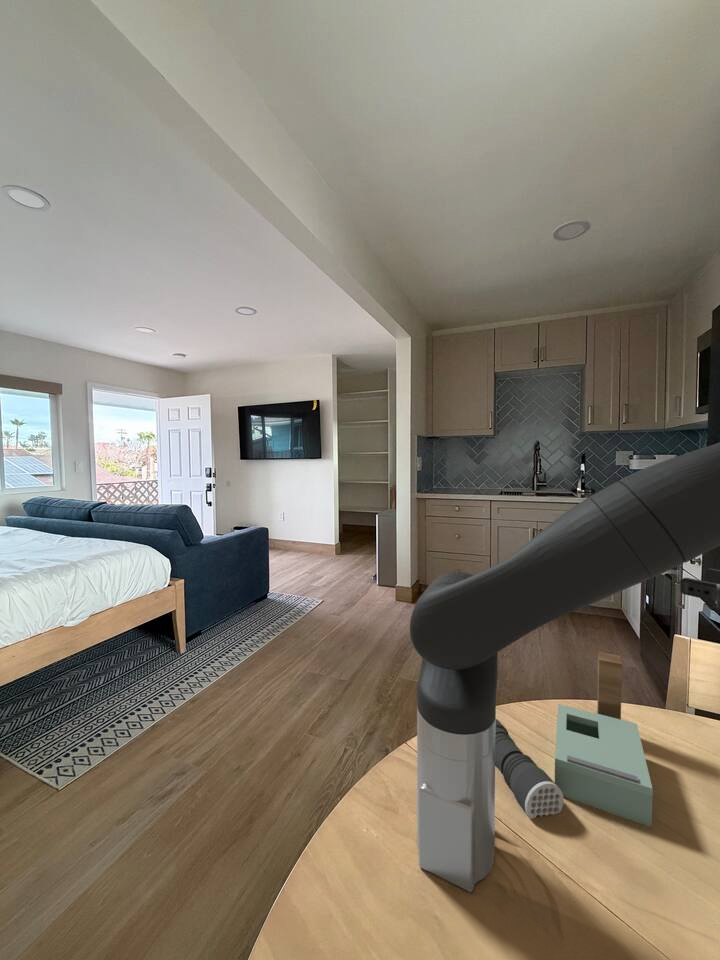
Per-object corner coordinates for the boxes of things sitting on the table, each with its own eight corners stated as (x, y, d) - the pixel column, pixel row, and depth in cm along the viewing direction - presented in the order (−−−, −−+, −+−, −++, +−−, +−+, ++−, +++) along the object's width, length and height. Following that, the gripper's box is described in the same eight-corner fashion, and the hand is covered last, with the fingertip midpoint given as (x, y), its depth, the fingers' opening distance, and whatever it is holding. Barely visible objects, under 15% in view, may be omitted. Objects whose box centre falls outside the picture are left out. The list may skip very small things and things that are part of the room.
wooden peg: (620, 747, 65) (621, 664, 65) (597, 740, 67) (599, 659, 66) (618, 735, 68) (620, 655, 67) (596, 729, 69) (598, 651, 69)
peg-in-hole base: (651, 834, 50) (652, 786, 50) (554, 800, 55) (555, 756, 55) (635, 760, 62) (636, 721, 62) (557, 738, 67) (558, 702, 67)
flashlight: (469, 745, 66) (469, 714, 66) (499, 741, 67) (499, 710, 67) (526, 828, 51) (527, 788, 51) (563, 820, 52) (564, 780, 52)
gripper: (891, 572, 46) (713, 548, 60) (870, 594, 39) (673, 560, 53) (887, 635, 47) (712, 596, 61) (866, 669, 39) (671, 616, 53)
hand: (694, 580), depth 57 cm, fingers open, 8 cm apart
